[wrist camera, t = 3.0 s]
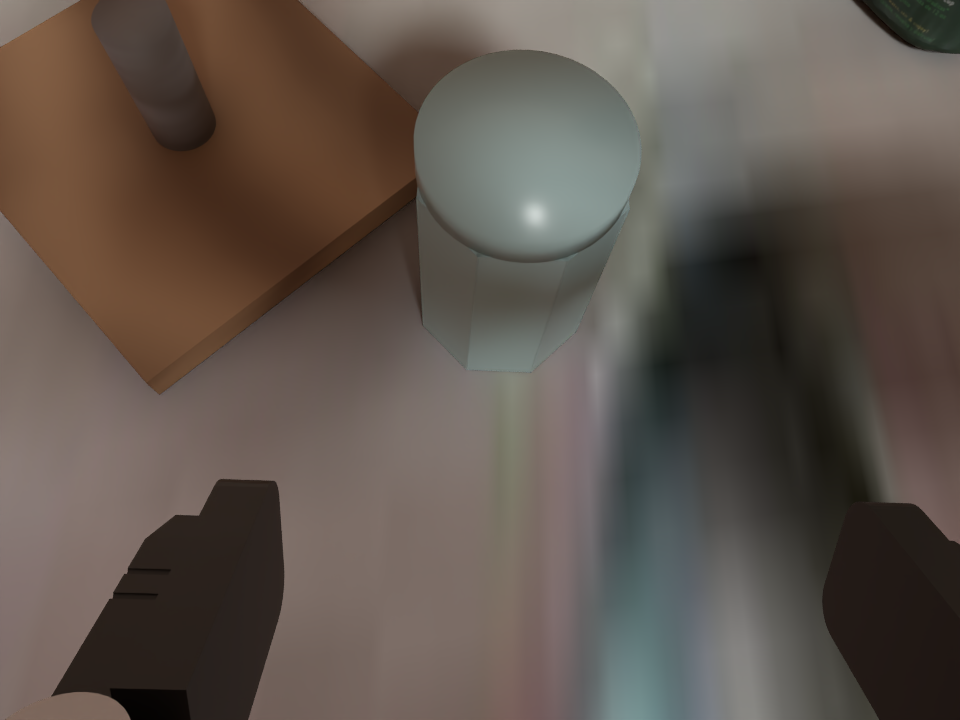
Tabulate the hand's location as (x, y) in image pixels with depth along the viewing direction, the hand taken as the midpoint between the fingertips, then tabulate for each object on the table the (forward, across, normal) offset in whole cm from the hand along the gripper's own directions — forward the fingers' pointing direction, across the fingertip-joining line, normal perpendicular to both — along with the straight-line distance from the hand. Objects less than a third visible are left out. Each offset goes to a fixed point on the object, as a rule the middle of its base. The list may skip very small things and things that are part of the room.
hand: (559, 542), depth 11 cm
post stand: (+20, +11, -2) cm, 23 cm away
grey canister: (+16, 0, +2) cm, 16 cm away
